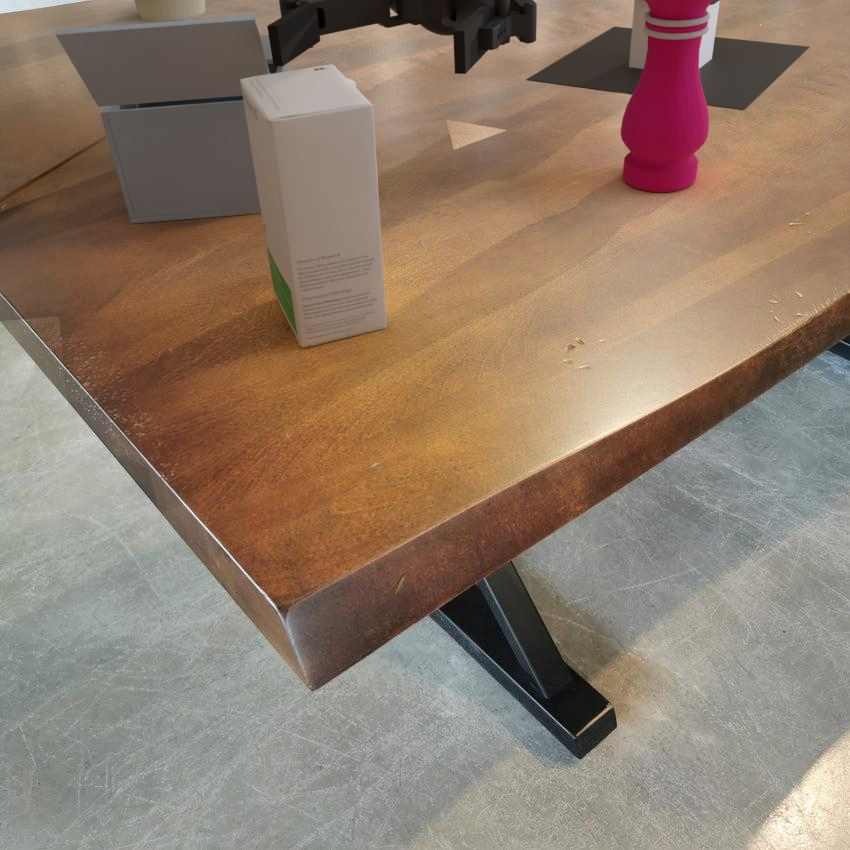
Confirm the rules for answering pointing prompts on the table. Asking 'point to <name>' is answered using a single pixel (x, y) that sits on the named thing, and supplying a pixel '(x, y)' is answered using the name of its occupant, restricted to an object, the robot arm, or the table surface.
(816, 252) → the table surface
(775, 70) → the dark grey square mat
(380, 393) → the table surface
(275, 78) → the cosmetic box
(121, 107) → the carton
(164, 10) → the reusable coffee cup
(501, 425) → the table surface
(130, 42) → the flap
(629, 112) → the pepper mill
